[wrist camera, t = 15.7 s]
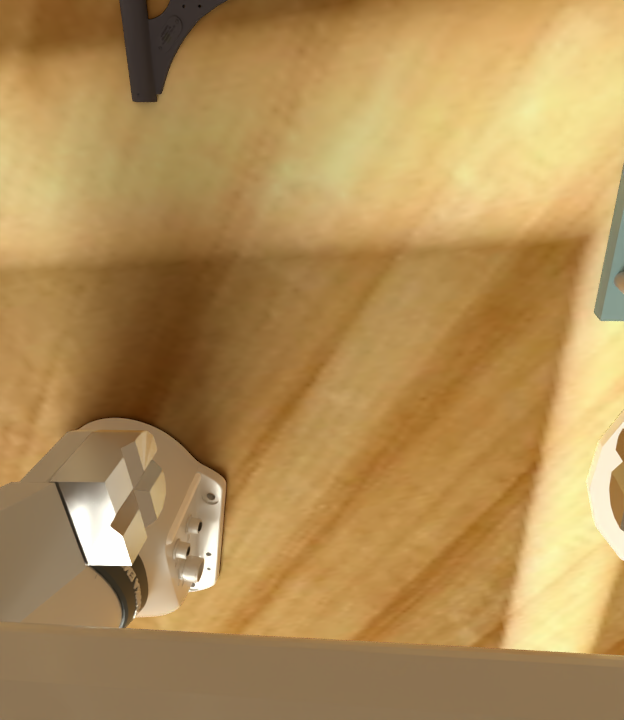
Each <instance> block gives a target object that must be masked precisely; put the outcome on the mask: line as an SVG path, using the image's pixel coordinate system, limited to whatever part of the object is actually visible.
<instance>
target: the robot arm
mask: <svg viewBox="0 0 624 720" xmlns="http://www.w3.org/2000/svg"><path fill="white" fill-rule="evenodd" d="M616 451H617V453H618V454H619V456H620V458H621V459H622V461H623V462H622V463H621V464H620V465H619V466H617V467H616V468H615V469H614V470H613V471H612V472H611V479H610V486H609V494H610V505H611V508H612V512H613V515H614V518H615V520H616V522H617V524H618V526H619V528H620V529H621V530H622V531H624V428H623V429H622V431H621V432H620V434H619V436H618V440H617V445H616ZM210 493H212V494H214V495H212V494H210ZM225 496H226V481H225V479H224V478H223V477H222V476H221V475H220V474H218V473H217V472H215V471H213V470H212V469H210V468H208V467H206V466H204V465H202V464H201V463H199V462H198V461H197V460H196V459H195V458H193V457H192V455H191V454H190V453H189V452H188V451H187V450H186V449H185V448H184V447H183V446H182V445H181V444H180V443H179V442H177V441H176V440H175V439H173V438H172V437H171V436H169V435H168V434H166V433H165V432H163V431H161V430H159V429H157V428H155V427H153V426H151V425H148V424H146V423H143V422H139V421H136V420H131V419H125V418H105V419H100V420H96V421H93V422H90V423H88V424H86V425H84V426H83V427H81V428H80V429H79V430H73V431H69V432H67V433H66V434H65V435H64V436H63V437H62V438H61V439H60V440H59V441H58V442H57V443H56V444H55V445H54V446H53V447H52V449H51V450H50V451H49V452H48V453H47V454H46V455H45V456H44V457H43V458H42V459H41V460H40V461H39V462H38V463H37V464H36V465H35V466H34V467H33V468H32V469H31V470H30V471H29V472H28V474H27V475H26V476H25V477H24V478H23V479H22V480H21V481H20V482H11V483H9V484H6V485H4V486H2V487H0V720H624V656H621V655H603V654H586V653H568V652H550V651H533V650H515V649H498V648H480V647H462V646H445V645H427V644H408V643H389V642H371V641H352V640H333V639H315V638H296V637H278V636H259V635H240V634H222V633H203V632H185V631H167V630H148V629H130V628H126V627H127V626H128V625H129V623H130V622H131V621H132V620H133V619H134V618H135V617H153V616H161V615H165V614H168V613H171V612H173V611H175V610H176V609H178V608H179V607H180V606H181V605H182V603H183V601H184V600H185V598H186V596H187V593H188V592H193V591H199V590H203V589H206V588H209V587H211V586H213V585H214V584H215V583H216V581H217V579H218V577H219V569H220V557H221V545H222V533H223V521H224V508H225Z"/></svg>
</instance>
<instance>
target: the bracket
mask: <svg viewBox="0 0 624 720" xmlns="http://www.w3.org/2000/svg"><path fill="white" fill-rule="evenodd" d="M225 1H227V0H170V2H169V4H168V7H167V8H166V10H165V11H164V12H163V13H162V14H161V15H160V16H158V17H156V18H154V19H150V20H149V19H148V14H147V5H146V0H120V8H121V16H122V24H123V31H124V39H125V47H126V55H127V62H128V70H129V78H130V85H131V93H132V100H133V101H134V102H157V96H156V95H157V94H161V93H162V91H163V87H164V84H165V80H166V77H167V74H168V71H169V68H170V65H171V63H172V61H173V58H174V56H175V54H176V52H177V50H178V49H179V47H180V45H181V43H182V42H183V40H184V39H185V37H186V36H187V35H188V33H189V32H190V31H191V29H192V28H193V27H194V26H195V24H196V23H197V22H198V21H199V20H200V19H201V18H202V17H203V16H204V15H206V14H207V13H208V12H210V11H211V10H213V9H214V8H215V7H217V6H218V5H220V4H222V3H224V2H225ZM184 5H185V8H184ZM200 5H201V8H200Z"/></svg>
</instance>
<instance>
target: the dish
mask: <svg viewBox="0 0 624 720" xmlns="http://www.w3.org/2000/svg"><path fill="white" fill-rule="evenodd" d="M623 428H624V409H623V411H622V412H621V413H620V414H619V415H618V417H617V418H616V419H615V420H614V422H613V423H612V424H611V425H610V427H609V428H608V429H607V430H606V432H605V433H604V434H603V435H602V436H601V438H600V439H599V441H598V444H597V447H596V451H595V454H594V457H593V460H592V464H591V467H590V470H589V474H588V477H587V480H586V484H587V489H588V495H589V501H590V506H591V512H592V517H593V521H594V523H595V526H596V528H597V529H598V530H599V532H600V533H601V534H602V535H603V537H604V538H605V539H606V541H607V542H608V543H609V545H610V546H611V547H612V548H613V550H614V551H615V552H616V554H617V555H618V556H619V558H620V559H622V560H624V531H622V530H621V529H620V528H619V526H618V524H617V522H616V520H615V518H614V515H613V512H612V508H611V505H610V494H609V486H610V479H611V472H612V471H613V470H614V469H615V468H616V467H617V466H619V465H620V464H621V463H622V462H623V461H622V459H621V458H620V456H619V454H618V453H617V451H616V445H617V440H618V436H619V434H620V432H621V431H622V429H623Z"/></svg>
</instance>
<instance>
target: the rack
mask: <svg viewBox="0 0 624 720" xmlns="http://www.w3.org/2000/svg"><path fill="white" fill-rule="evenodd" d="M594 313H595V315H596V316H597V317H598V318H599V320H600V321H624V165H623V170H622V175H621V180H620V185H619V190H618V195H617V200H616V205H615V210H614V215H613V220H612V225H611V230H610V235H609V240H608V245H607V250H606V255H605V260H604V265H603V270H602V275H601V280H600V285H599V290H598V295H597V299H596V304H595V309H594Z"/></svg>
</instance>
